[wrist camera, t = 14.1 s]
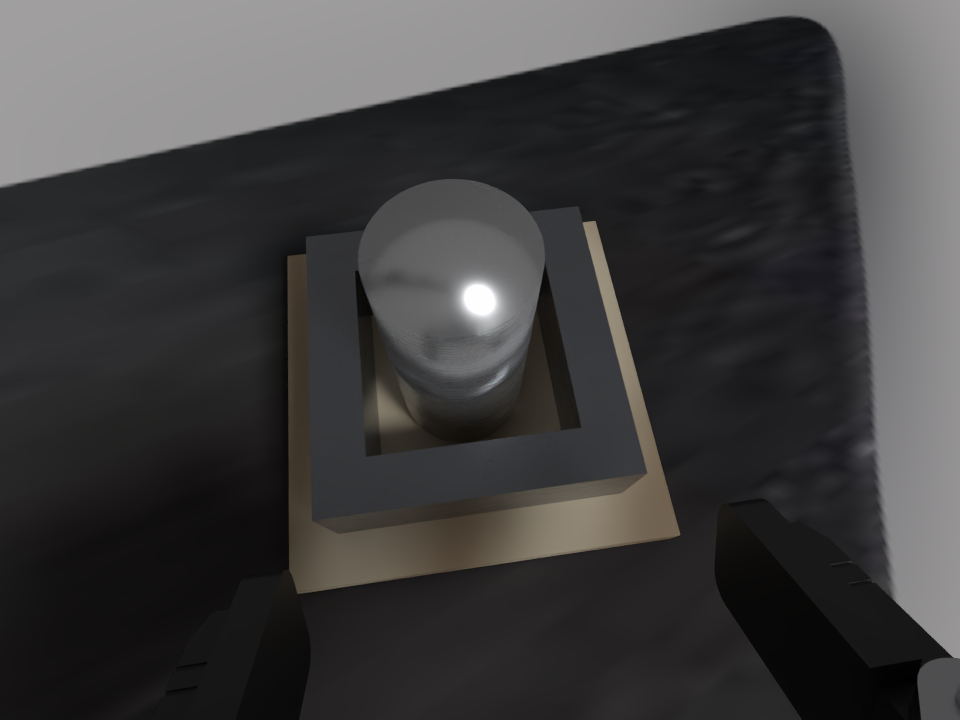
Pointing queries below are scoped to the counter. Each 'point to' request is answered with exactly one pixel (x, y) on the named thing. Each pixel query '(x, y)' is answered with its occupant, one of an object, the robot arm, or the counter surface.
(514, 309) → the cylinder
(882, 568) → the counter surface
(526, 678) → the counter surface
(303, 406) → the board
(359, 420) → the sleeve
